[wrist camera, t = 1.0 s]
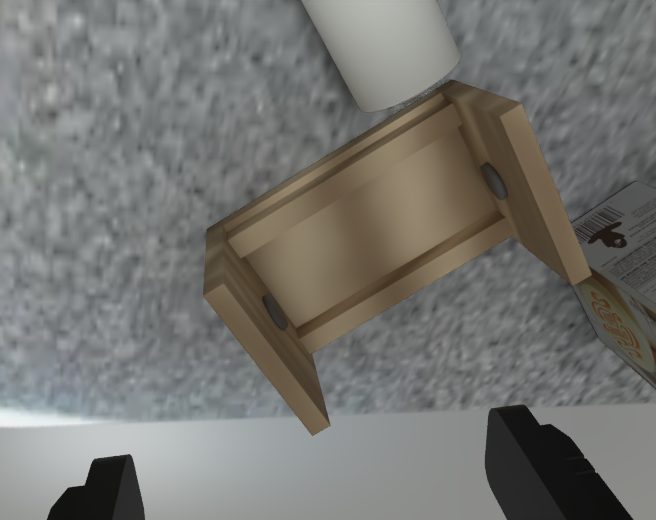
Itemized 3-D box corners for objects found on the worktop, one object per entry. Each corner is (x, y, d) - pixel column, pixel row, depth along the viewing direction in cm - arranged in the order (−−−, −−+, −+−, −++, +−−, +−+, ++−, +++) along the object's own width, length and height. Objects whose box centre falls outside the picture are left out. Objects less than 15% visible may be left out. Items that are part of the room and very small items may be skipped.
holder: (451, 79, 31) (521, 103, 24) (514, 217, 35) (591, 275, 28) (207, 229, 32) (203, 295, 25) (293, 348, 36) (312, 436, 29)
